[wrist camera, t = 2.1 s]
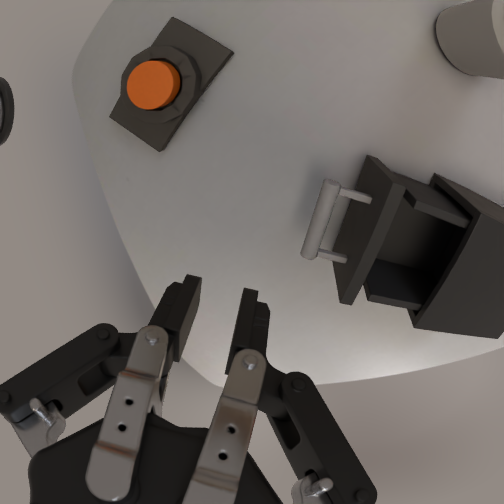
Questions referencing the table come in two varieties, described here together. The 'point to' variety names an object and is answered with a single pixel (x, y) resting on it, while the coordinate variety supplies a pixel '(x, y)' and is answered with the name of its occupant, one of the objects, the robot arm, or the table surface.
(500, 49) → the can
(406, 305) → the small dark drawer
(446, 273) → the black drawer cabinet
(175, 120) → the control block
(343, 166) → the table surface
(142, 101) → the button
